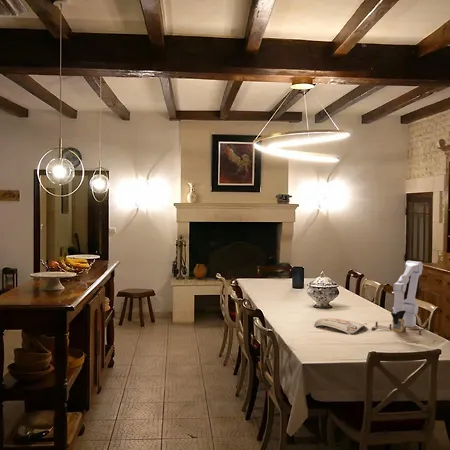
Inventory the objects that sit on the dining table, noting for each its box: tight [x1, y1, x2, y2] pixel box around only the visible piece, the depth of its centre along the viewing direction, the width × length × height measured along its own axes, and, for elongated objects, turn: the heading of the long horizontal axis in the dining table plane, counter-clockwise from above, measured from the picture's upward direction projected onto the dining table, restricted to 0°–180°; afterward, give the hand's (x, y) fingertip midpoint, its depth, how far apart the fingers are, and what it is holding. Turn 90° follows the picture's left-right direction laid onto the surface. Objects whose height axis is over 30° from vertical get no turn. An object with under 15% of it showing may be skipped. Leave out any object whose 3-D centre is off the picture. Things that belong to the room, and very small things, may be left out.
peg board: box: [371, 321, 425, 337], centre depth 323 cm, size 10×30×4 cm, turn 52°
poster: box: [313, 317, 368, 336], centre depth 334 cm, size 28×6×30 cm
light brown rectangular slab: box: [391, 319, 405, 332], centre depth 322 cm, size 4×6×7 cm
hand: (397, 322), depth 322 cm, fingers open, 7 cm apart
